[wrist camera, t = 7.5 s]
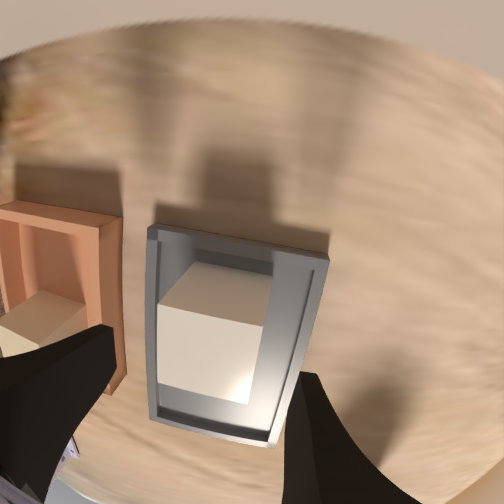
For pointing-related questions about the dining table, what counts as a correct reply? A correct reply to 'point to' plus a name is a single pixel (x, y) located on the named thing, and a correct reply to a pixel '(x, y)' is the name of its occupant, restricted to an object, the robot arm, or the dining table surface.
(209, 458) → the dining table surface
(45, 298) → the tan cube
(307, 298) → the parts tray
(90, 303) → the terracotta dish
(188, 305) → the cream cube on tray
